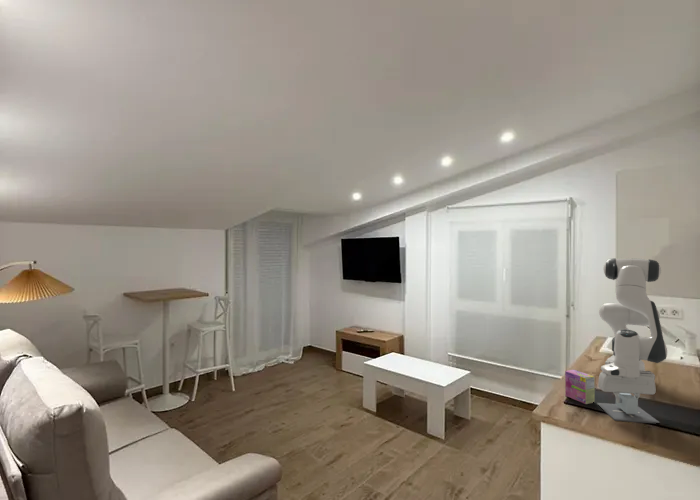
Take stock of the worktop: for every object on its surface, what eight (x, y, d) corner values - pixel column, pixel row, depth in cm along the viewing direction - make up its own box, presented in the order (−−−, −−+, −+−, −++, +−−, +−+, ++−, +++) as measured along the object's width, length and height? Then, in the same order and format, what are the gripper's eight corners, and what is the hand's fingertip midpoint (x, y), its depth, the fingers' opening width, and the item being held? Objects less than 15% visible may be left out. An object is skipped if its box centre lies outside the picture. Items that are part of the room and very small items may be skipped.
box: (564, 395, 178) (565, 370, 178) (573, 394, 180) (574, 369, 180) (585, 404, 168) (585, 377, 168) (594, 402, 170) (595, 376, 170)
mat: (596, 404, 169) (596, 402, 169) (636, 406, 166) (636, 405, 166) (614, 420, 153) (614, 418, 153) (659, 423, 150) (659, 422, 150)
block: (626, 413, 155) (626, 398, 155) (615, 404, 164) (615, 390, 164) (637, 414, 155) (638, 399, 155) (625, 404, 164) (626, 390, 164)
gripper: (650, 368, 161) (649, 401, 161) (596, 366, 164) (596, 398, 164) (659, 373, 154) (659, 407, 155) (603, 370, 158) (603, 404, 158)
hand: (626, 402), depth 160 cm, fingers closed on block, 4 cm apart
